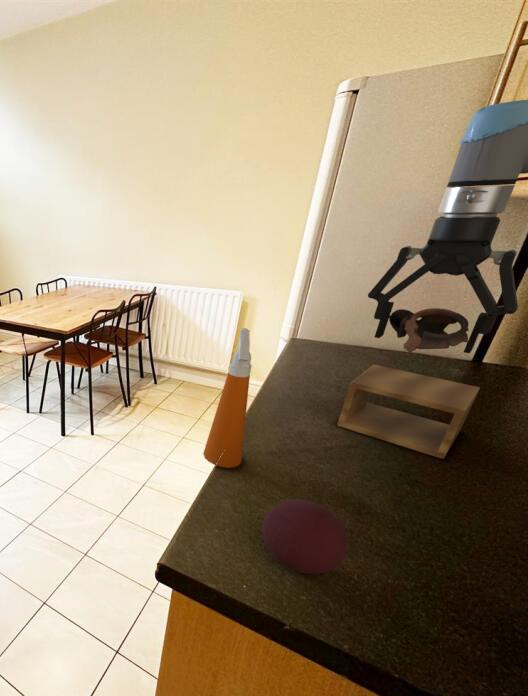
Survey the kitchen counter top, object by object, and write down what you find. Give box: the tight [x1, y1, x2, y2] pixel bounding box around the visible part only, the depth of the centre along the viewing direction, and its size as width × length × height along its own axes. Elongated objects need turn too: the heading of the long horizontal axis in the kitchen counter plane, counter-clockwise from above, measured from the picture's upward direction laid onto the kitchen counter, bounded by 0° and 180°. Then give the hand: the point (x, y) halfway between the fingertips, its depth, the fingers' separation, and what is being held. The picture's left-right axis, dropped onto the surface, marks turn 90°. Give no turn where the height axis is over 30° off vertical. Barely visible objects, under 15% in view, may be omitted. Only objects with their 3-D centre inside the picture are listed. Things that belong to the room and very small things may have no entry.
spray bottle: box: [202, 327, 252, 469], centre depth 81 cm, size 7×11×26 cm, turn 156°
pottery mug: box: [388, 307, 470, 353], centre depth 75 cm, size 12×10×8 cm
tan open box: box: [336, 364, 481, 460], centre depth 91 cm, size 18×16×11 cm
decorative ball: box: [261, 498, 349, 575], centre depth 58 cm, size 10×10×10 cm
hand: (420, 343), depth 76 cm, fingers closed on pottery mug, 11 cm apart
